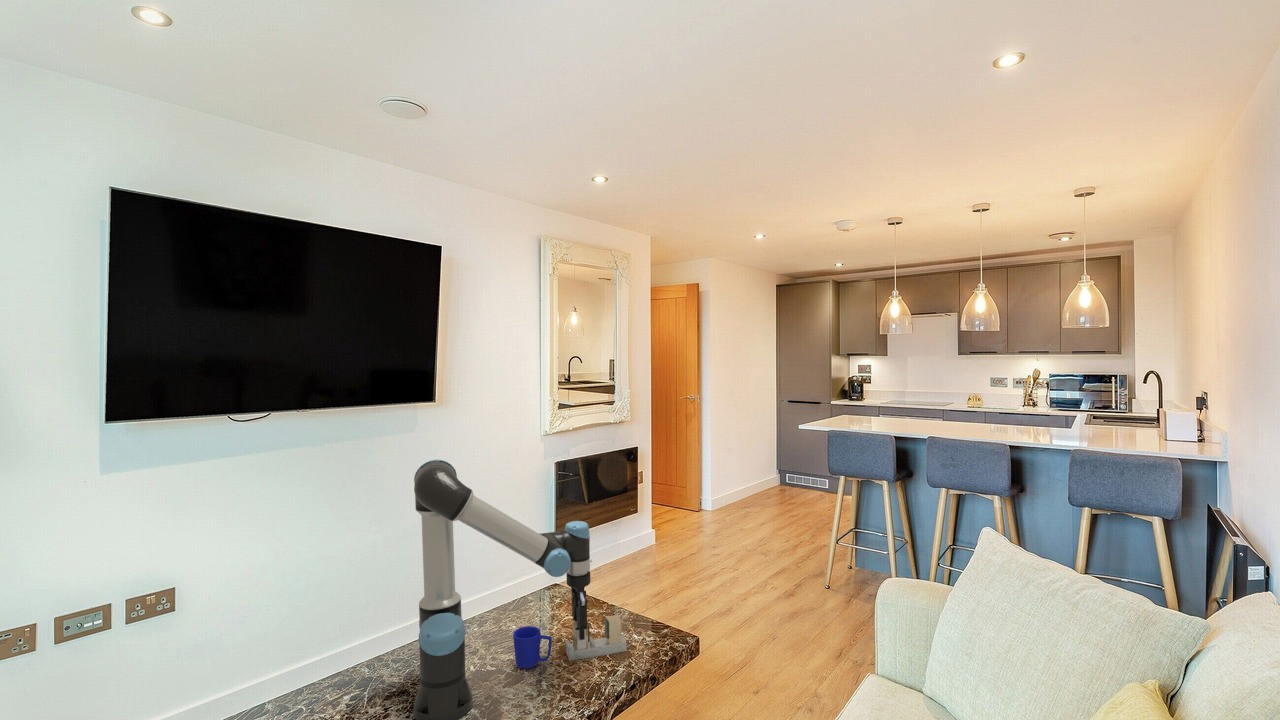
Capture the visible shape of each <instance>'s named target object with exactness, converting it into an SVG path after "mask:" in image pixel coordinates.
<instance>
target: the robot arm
mask: <svg viewBox="0 0 1280 720" xmlns="http://www.w3.org/2000/svg"><path fill="white" fill-rule="evenodd" d="M413 482H414V487H413V489H414V490H413V492H414V496H415V497H414V498H415V511H416V512H417V513H418V514H419V515H420V516H421V537H422V540H421V542H422V543H421V544H422V564H423V565H422V568H423V569H422V570H423V573H422V574H423V593H424V594H423V595H424V596H423V597H422V598H421V599H420V601H419V602H418V615H419V620H418V621H419V622H418V625H419V633H418V643H419V686H418V689H417V693H416V696H415V699H414V703H413V717H414V720H459V719H461V718H463V717H464V716H465V715H466V714H467V713H469V711H470V710H471V709H472V706H473V691H472V689H471V687H470V684H469V681H468V678H467V676H466V644H465V643H466V641H465V640H466V639H465V638H466V627H465V622H464V619H463V618H462V596H461V594H460V593H458V592H457V591H456V576H455V546H454V522H457V521H459V522H461V523H462V524H464V525H466V526H468V527H470V528H471V529H473V530H475V531H476V532H479V533H481V534H482V535H484V536H485V537H488V538H490V539H491V540H493V541H494V542H496V543H499V544H500V545H502V546H503V547H505V548H507V549H509V550H511V551H512V552H514V553H516V554H518V555H520V556H521V557H523V558H525V559H526V560H529V561H530V562H532V563H533V564H536V565H537V566H539V567H540V568H542V569H544V571H545V572H546V573H547V574H548V575H549V576H551V577H554V578H560V577H563V576H565V575H566V585H567V586H568V587H570V591H571V592H570V593H571V594H570V595H571V616H572V620H573V622H575V621H577V626H578V627H576V628H575V630H577V650H580V649H585V648H586V629H587V623H588V602H589V601H588V598H586V597H587V590H585V588H586V587H588V586H589V585H590V584H591V564H590V563H592V561H593V560H592V558H591V557H590V554H591V553H590V552H591V551H590V550H591V549H590V547H591V546H590V544H591V543H590V541H591V539H590V537H591V536H590V527H589V524H588V523H587V522H586V521H582V520H574V521H573V520H572V521H569V522H567V523H566V524H565V527H564V530H559V531H551V532H543V533H540V532H537V531H535V530H534V529H532V528H530V527H529V526H527V525H525V524H523V523H522V522H520V521H518V520H517V519H515V518H513V517H511V516H510V515H507V513H504V512H503V511H501V510H499V509H498V508H496V507H494V506H493V505H491V504H490V503H487V502H486V501H484V500H482V499H481V498H479V497H477V496H476V495H475V494H474V490H473V489H472V488H470V487H468V486H467V485H465V484H464V483H462V482H461V481H460V480H459V478H458V475H457V471H456V469H455V467H454V466H453V465H452V464H451V463H450V462H448V461H446V460H445V459H444V460H443V459H437V458H436V459H431V460H428V461H426V462H424V463H423V464H421V466H419V468H417V470H416V471H415V474H414V479H413Z"/></svg>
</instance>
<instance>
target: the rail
mask: <svg viewBox="0 0 1280 720" xmlns="http://www.w3.org/2000/svg"><path fill="white" fill-rule="evenodd" d="M603 620H604V623H603V624H604V636H605V637H601V638H595V639H594V638H593V636H590V635H589V637H590V642H588V648H585V649H580V650H575V647H574V645H573V642H572V643H570V640H569V639H566V640H565V641H564V642H565V647H566V648H565V649H566V650H565V651H566V652H565V653H566V656H567V658H568V661H569V662H573V661H578V659H579V660H583V659H584V658H585V659H590V658H595V657H602V656H605V655H606V656H607V655H613V654H619V653H624V652H627V641H626V639H625V637H624V636H623V634H622V619H621V618H620V616H619V615H618V614H615V615H608V616H605V618H604V619H603ZM589 657H590V658H589Z"/></svg>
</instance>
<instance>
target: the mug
mask: <svg viewBox="0 0 1280 720" xmlns="http://www.w3.org/2000/svg"><path fill="white" fill-rule="evenodd" d="M512 634H513V635H512V636H513V648H514V656H515V664H516V666H517V667H518V668H520V669H524V670H526V669H527V670H529V669H531V668H535V666H537V664H538V663H539V661H540V662H542V663H543V662H547V661H548V659H549V658H550V656H551V651H552V642H553V637H552V636H550V635H544V634H541V630H540V628H539V627H537V626H536V627H535V626H534V625H533V626H532V625H531V626H530V625H529V626H527V625H526V626H522V627H519V628H517V629H515V630H514V631H513V632H512ZM541 640H548V650H547V651H548V652H547V656H546V657H545V658H543V657H541V655H540V654H541V652H540V650H541Z"/></svg>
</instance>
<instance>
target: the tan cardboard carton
mask: <svg viewBox="0 0 1280 720" xmlns="http://www.w3.org/2000/svg"><path fill="white" fill-rule="evenodd" d="M574 621H575V620H574ZM574 621H572V643H573V645H574V647H575V650H577V630H575V628H576V627H578V626H577V621H575V622H574ZM589 636H590V624H589V622H587V629H586V648H588V642H590V637H589Z"/></svg>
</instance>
